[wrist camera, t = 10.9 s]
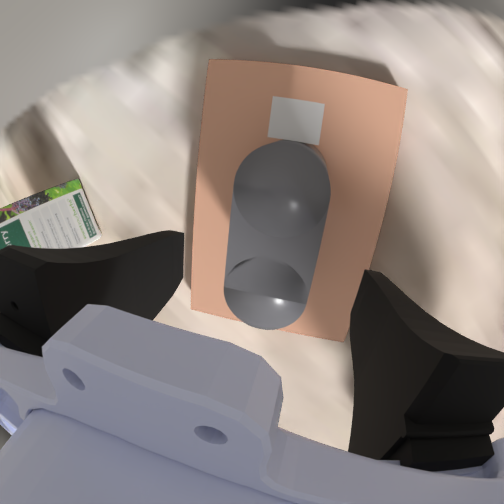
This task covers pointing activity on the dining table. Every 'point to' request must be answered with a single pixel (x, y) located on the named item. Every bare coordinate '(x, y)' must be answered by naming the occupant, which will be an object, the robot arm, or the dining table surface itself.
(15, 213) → the syrup box
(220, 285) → the terracotta tile
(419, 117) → the dining table surface
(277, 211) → the block
